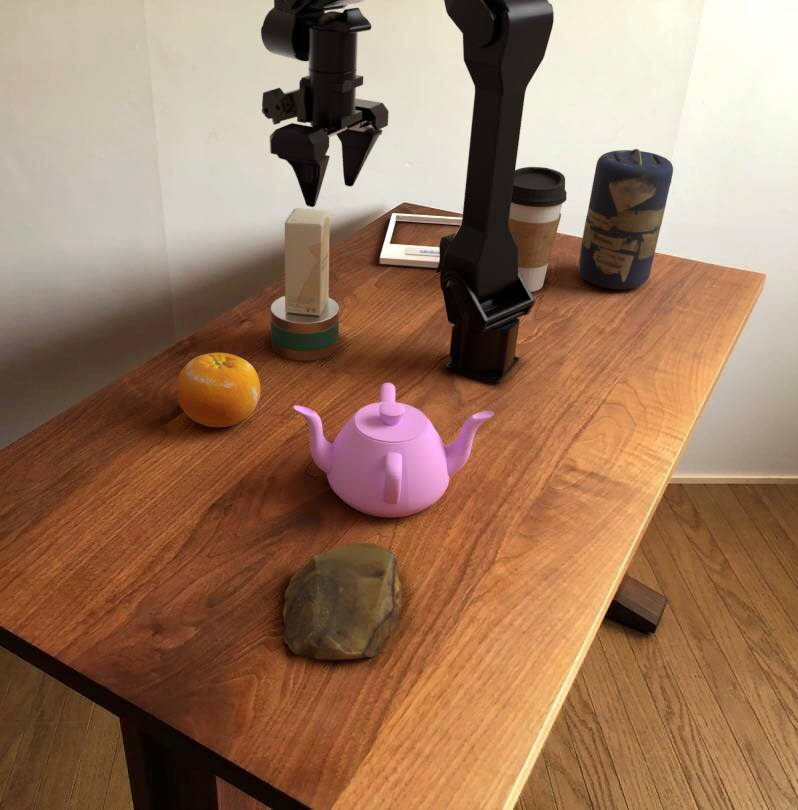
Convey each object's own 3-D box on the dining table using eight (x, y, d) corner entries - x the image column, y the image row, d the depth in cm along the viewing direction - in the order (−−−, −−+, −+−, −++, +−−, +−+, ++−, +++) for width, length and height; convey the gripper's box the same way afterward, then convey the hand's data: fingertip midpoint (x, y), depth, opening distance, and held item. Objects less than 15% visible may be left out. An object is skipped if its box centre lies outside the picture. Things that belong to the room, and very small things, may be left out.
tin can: (350, 340, 111) (352, 303, 108) (314, 368, 105) (315, 329, 102) (295, 323, 115) (295, 287, 112) (257, 349, 109) (256, 311, 106)
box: (320, 317, 105) (321, 225, 99) (283, 313, 106) (282, 222, 100) (329, 297, 109) (331, 209, 103) (294, 294, 110) (294, 206, 104)
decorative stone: (396, 674, 68) (400, 641, 66) (272, 659, 69) (271, 626, 67) (403, 577, 76) (406, 545, 74) (292, 565, 77) (292, 533, 75)
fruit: (288, 385, 95) (241, 329, 92) (242, 445, 91) (192, 389, 88) (241, 389, 102) (196, 337, 98) (197, 446, 98) (148, 393, 94)
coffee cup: (561, 279, 126) (578, 172, 118) (539, 302, 120) (556, 191, 112) (503, 266, 130) (516, 161, 122) (479, 287, 124) (492, 179, 116)
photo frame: (379, 256, 129) (392, 212, 144) (379, 263, 130) (392, 218, 145) (484, 264, 127) (486, 218, 142) (483, 271, 128) (485, 225, 143)
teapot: (292, 483, 87) (292, 404, 82) (398, 432, 94) (403, 357, 89) (378, 548, 79) (383, 464, 74) (485, 487, 86) (496, 408, 81)
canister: (571, 287, 123) (594, 156, 114) (580, 261, 131) (602, 136, 121) (645, 299, 120) (675, 165, 111) (650, 272, 128) (679, 144, 118)
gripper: (317, 47, 118) (316, 165, 127) (230, 74, 105) (235, 204, 113) (393, 57, 113) (387, 180, 121) (311, 87, 100) (310, 222, 108)
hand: (330, 195), depth 116 cm, fingers open, 9 cm apart
